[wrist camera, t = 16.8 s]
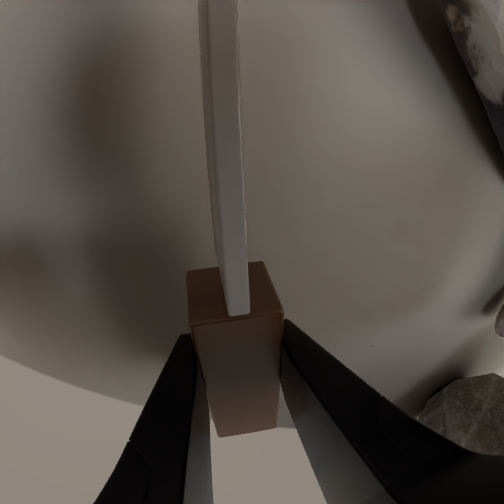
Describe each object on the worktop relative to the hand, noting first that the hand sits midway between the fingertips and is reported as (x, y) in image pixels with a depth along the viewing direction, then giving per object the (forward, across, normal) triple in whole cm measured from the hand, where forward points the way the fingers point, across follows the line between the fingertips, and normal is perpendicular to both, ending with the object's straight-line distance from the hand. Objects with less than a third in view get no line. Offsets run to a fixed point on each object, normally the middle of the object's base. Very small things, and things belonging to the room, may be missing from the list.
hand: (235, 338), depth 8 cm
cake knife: (+1, 0, -2) cm, 2 cm away
